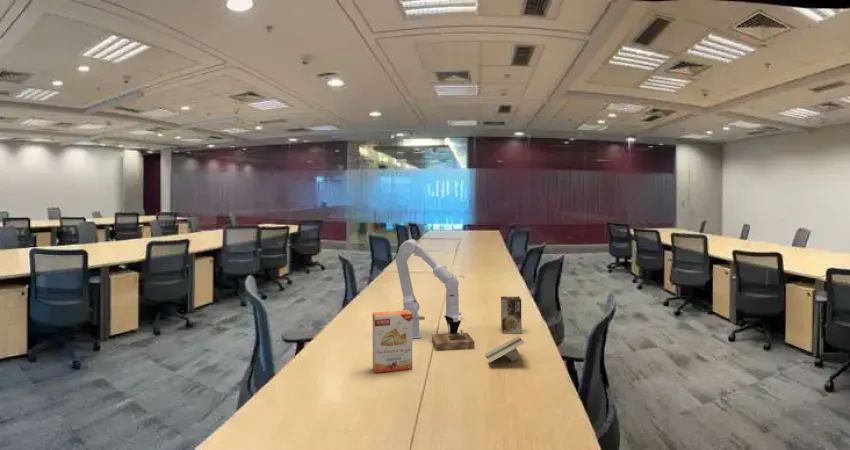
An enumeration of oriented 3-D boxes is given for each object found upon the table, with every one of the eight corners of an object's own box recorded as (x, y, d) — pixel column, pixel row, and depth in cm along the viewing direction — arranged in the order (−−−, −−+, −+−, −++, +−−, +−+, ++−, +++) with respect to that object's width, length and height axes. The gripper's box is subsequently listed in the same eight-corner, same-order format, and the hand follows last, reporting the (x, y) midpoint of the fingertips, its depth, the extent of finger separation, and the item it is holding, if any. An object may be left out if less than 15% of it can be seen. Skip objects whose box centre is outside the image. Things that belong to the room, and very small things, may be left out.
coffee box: (520, 329, 200) (520, 296, 199) (521, 333, 193) (521, 299, 192) (500, 329, 200) (500, 296, 200) (501, 333, 194) (501, 299, 193)
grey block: (450, 339, 187) (449, 325, 186) (448, 336, 190) (448, 323, 190) (460, 338, 187) (460, 325, 187) (458, 335, 191) (458, 322, 191)
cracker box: (374, 374, 148) (374, 316, 147) (372, 368, 154) (371, 311, 153) (413, 369, 152) (412, 313, 151) (409, 363, 158) (408, 309, 157)
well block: (436, 350, 171) (436, 343, 171) (431, 341, 183) (431, 334, 183) (474, 348, 174) (474, 341, 174) (467, 339, 186) (467, 332, 185)
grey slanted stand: (505, 381, 151) (536, 353, 152) (489, 362, 152) (519, 334, 153) (499, 370, 167) (527, 345, 168) (484, 353, 168) (512, 328, 169)
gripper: (464, 307, 181) (465, 337, 182) (457, 299, 196) (457, 328, 196) (448, 307, 180) (449, 338, 181) (442, 300, 195) (442, 329, 195)
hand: (452, 333), depth 189 cm, fingers open, 6 cm apart
